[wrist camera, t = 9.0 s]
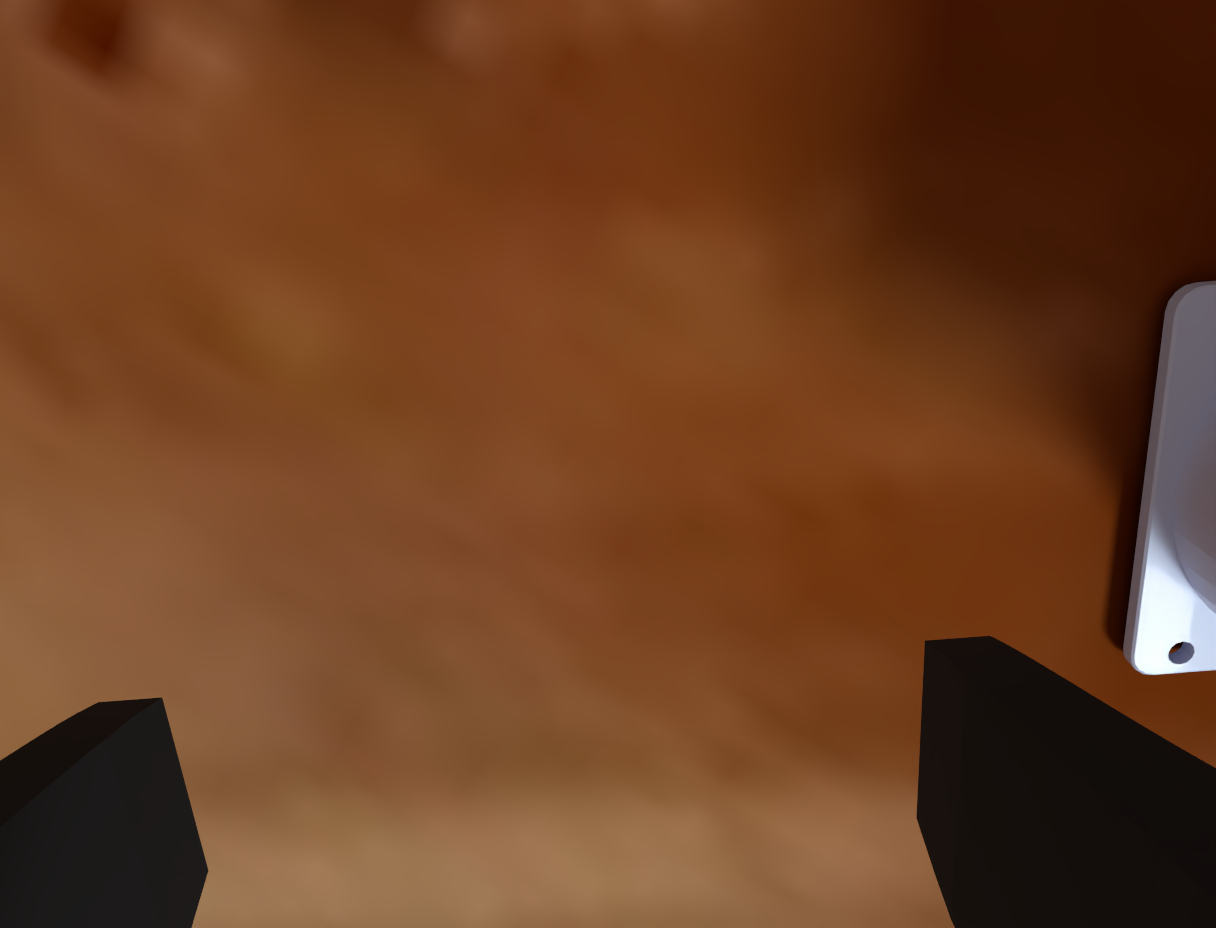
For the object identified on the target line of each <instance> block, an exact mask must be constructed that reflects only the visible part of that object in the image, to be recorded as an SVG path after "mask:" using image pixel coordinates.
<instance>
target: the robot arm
mask: <svg viewBox="0 0 1216 928" xmlns="http://www.w3.org/2000/svg"><path fill="white" fill-rule="evenodd" d="M1180 642H1183V644H1182V646H1181V648H1180V649H1179V650H1178V651H1176V652H1174V653H1171V654H1168V653H1169V651H1170V649H1171V648H1172V647H1173V646H1174V645H1175V644H1176V643H1180ZM1123 650H1124V656H1125V658H1126V659H1127V661H1128V662H1129V663H1130V664H1131V665H1132V666H1133V667H1134V668H1135V669H1136V670H1137V671H1139V672H1141V673H1142V674H1149V675H1157V674H1170V673H1183V672H1196V671H1209V670H1216V281H1206V282H1196V283H1192V284H1188V285H1185V286H1184V287H1182V288H1181V289H1179V290H1178V291H1176V292H1175V293H1174V295H1173V296H1172V297H1171V299H1170V300H1169V301H1168V304H1167V307H1166V311H1165V316H1164V324H1163V332H1162V340H1161V348H1160V356H1159V364H1158V373H1157V381H1156V389H1155V397H1154V405H1153V413H1152V421H1151V429H1150V437H1149V445H1148V453H1147V461H1146V469H1145V477H1144V485H1143V493H1142V501H1141V509H1140V517H1139V525H1138V533H1137V541H1136V549H1135V557H1134V565H1133V573H1132V581H1131V590H1130V598H1129V606H1128V614H1127V622H1126V630H1125V638H1124V646H1123ZM917 820H918V824H919V827H920V830H921V833H922V836H923V839H924V842H925V845H926V848H927V851H928V854H929V857H930V860H931V863H932V866H933V869H934V872H935V875H936V878H937V881H938V884H939V887H940V889H941V892H942V895H943V898H944V901H945V904H946V906H947V909H948V912H949V915H950V918H951V920H952V922H953V924H954V926H955V928H1216V768H1214V767H1213V766H1211V765H1209V764H1207V763H1205V762H1204V761H1202V760H1200V759H1198V758H1197V757H1195V756H1193V755H1191V754H1190V753H1188V752H1186V751H1184V750H1183V749H1181V748H1179V747H1178V746H1176V745H1174V744H1172V743H1171V742H1169V741H1167V740H1166V739H1164V738H1162V737H1161V736H1159V735H1157V734H1155V733H1154V732H1152V731H1150V730H1149V729H1147V728H1145V727H1144V726H1142V725H1140V724H1139V723H1137V722H1135V721H1134V720H1132V719H1130V718H1129V717H1127V716H1125V715H1124V714H1122V713H1120V712H1119V711H1117V710H1115V709H1114V708H1112V707H1110V706H1109V705H1107V704H1105V703H1104V702H1102V701H1100V700H1099V699H1097V698H1096V697H1094V696H1092V695H1091V694H1089V693H1087V692H1086V691H1084V690H1082V689H1081V688H1079V687H1078V686H1076V685H1074V684H1073V683H1071V682H1069V681H1068V680H1066V679H1064V678H1063V677H1061V676H1059V675H1058V674H1056V673H1055V672H1053V671H1051V670H1050V669H1048V668H1046V667H1045V666H1043V665H1041V664H1040V663H1038V662H1036V661H1035V660H1033V659H1031V658H1029V657H1028V656H1026V655H1024V654H1023V653H1021V652H1019V651H1017V650H1016V649H1014V648H1012V647H1010V646H1008V645H1007V644H1005V643H1003V642H1001V641H999V640H997V639H995V638H993V637H991V636H983V637H969V638H956V639H943V640H929V641H925V653H924V674H923V695H922V716H921V737H920V758H919V779H918V800H917ZM207 873H208V868H207V864H206V860H205V857H204V853H203V849H202V845H201V842H200V838H199V834H198V830H197V827H196V823H195V819H194V815H193V812H192V808H191V804H190V800H189V797H188V793H187V789H186V785H185V782H184V778H183V774H182V770H181V767H180V763H179V759H178V756H177V752H176V748H175V744H174V741H173V737H172V733H171V729H170V726H169V722H168V718H167V714H166V711H165V707H164V703H163V699H162V698H151V699H137V700H124V701H110V702H98V703H96V704H94V705H92V706H90V707H88V708H86V709H84V710H83V711H81V712H79V713H77V714H75V715H73V716H72V717H70V718H68V719H66V720H65V721H63V722H61V723H59V724H58V725H56V726H55V727H53V728H51V729H50V730H48V731H46V732H45V733H43V734H41V735H40V736H38V737H37V738H35V739H33V740H32V741H30V742H29V743H27V744H26V745H24V746H22V747H21V748H19V749H18V750H16V751H15V752H13V753H12V754H10V755H8V756H7V757H5V758H4V759H2V760H1V761H0V928H191V927H192V924H193V920H194V917H195V914H196V910H197V907H198V903H199V900H200V897H201V893H202V890H203V886H204V883H205V880H206V876H207Z"/></svg>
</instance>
